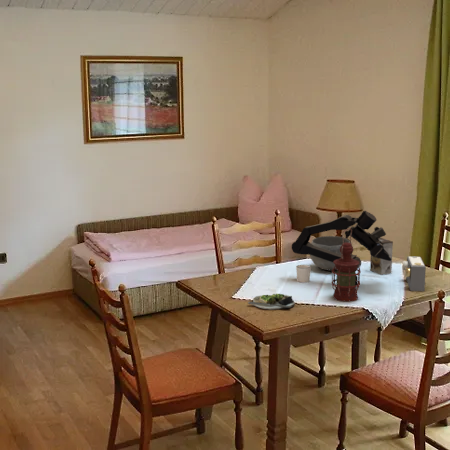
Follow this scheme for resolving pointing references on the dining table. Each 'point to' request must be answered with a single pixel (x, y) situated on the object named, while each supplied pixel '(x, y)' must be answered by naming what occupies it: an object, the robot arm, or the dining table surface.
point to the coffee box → (381, 264)
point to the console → (416, 274)
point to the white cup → (303, 273)
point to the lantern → (346, 274)
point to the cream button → (405, 265)
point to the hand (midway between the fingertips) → (389, 258)
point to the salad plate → (273, 301)
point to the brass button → (407, 272)
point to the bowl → (328, 244)
